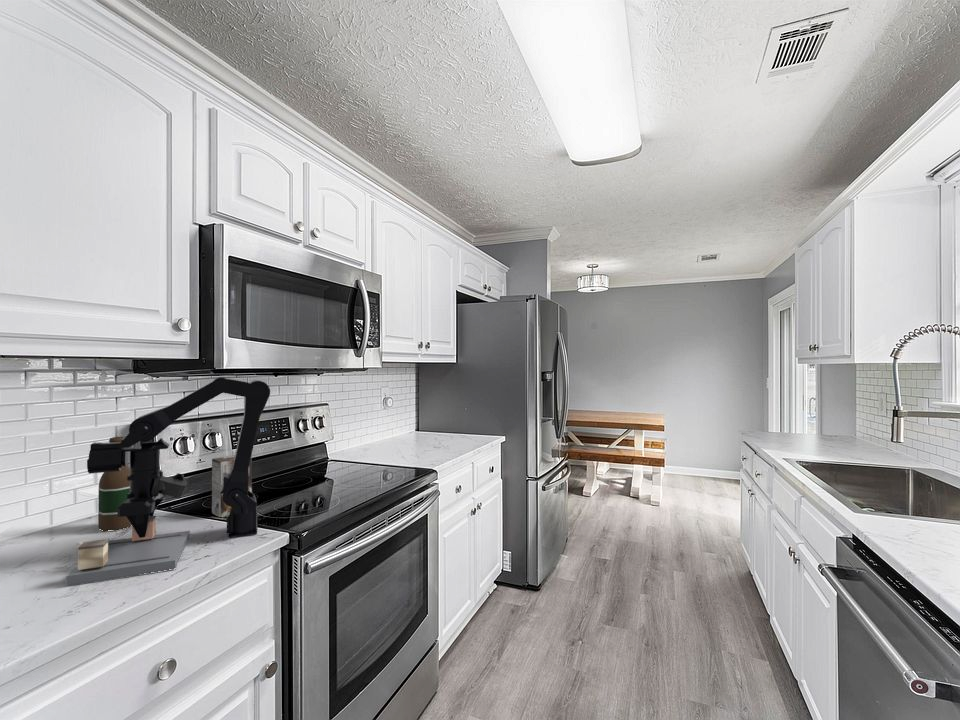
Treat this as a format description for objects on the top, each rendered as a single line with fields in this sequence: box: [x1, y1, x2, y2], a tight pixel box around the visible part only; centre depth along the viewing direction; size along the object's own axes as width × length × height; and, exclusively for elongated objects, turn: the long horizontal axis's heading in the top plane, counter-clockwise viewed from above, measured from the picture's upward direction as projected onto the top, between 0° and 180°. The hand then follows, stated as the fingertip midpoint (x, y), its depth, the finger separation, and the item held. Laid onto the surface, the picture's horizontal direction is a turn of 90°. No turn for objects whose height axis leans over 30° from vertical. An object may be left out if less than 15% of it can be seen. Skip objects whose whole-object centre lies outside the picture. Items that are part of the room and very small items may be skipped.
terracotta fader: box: [131, 515, 157, 541], centre depth 110 cm, size 4×3×4 cm
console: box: [66, 530, 191, 587], centre depth 103 cm, size 18×19×2 cm
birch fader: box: [77, 538, 109, 570], centre depth 94 cm, size 4×3×4 cm
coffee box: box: [211, 454, 253, 518], centre depth 137 cm, size 9×6×16 cm
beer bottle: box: [97, 435, 134, 532], centre depth 124 cm, size 8×8×24 cm
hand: (144, 534), depth 110 cm, fingers closed on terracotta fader, 3 cm apart
